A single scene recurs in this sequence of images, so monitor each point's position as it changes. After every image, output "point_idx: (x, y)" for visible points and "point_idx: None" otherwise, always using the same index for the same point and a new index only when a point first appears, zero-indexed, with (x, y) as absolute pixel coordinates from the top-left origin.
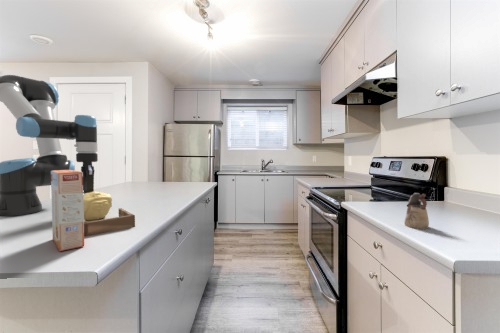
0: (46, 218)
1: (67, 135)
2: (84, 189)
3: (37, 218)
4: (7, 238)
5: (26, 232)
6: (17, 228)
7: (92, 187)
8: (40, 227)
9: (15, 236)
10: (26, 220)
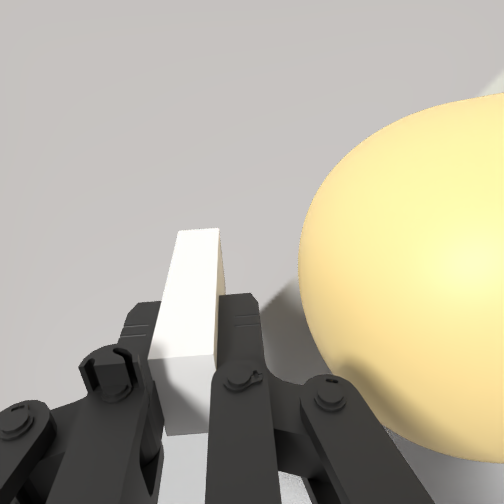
0: (183, 436)
1: None
2: (157, 493)
3: None
4: (488, 500)
5: (451, 471)
6: None
7: (398, 469)
8: (402, 443)
9: (483, 488)
10: (174, 492)
